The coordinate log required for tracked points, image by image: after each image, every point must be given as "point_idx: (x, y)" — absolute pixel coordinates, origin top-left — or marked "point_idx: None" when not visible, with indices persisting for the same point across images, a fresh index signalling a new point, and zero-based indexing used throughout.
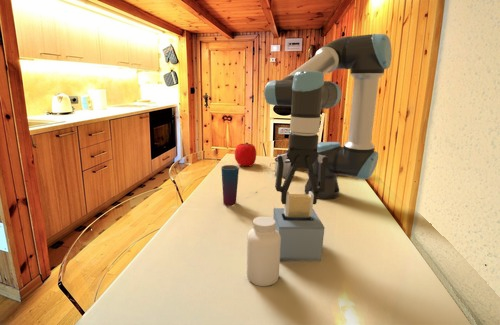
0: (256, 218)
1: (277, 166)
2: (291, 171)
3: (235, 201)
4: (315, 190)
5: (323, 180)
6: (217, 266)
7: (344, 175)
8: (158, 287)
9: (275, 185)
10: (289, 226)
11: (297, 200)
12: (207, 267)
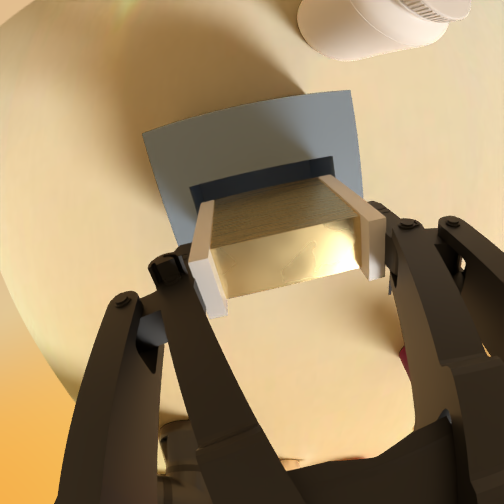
0: (467, 5)
1: None
2: (476, 351)
3: (404, 354)
4: (174, 288)
5: (99, 360)
6: (437, 65)
7: (164, 475)
8: (490, 22)
9: (461, 270)
10: (306, 99)
11: (298, 217)
12: (451, 64)
